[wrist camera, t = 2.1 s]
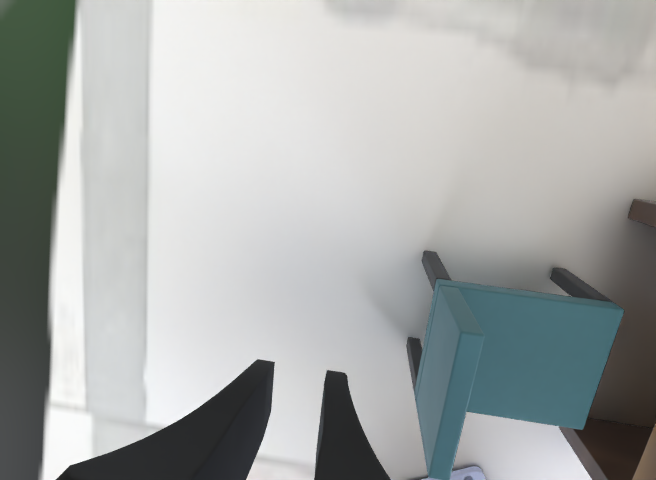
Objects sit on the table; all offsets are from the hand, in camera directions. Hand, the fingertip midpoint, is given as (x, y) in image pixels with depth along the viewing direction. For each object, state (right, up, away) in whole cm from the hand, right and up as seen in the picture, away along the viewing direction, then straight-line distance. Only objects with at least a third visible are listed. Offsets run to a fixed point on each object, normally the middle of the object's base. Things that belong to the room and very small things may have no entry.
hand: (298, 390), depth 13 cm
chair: (+10, +1, +8) cm, 13 cm away
